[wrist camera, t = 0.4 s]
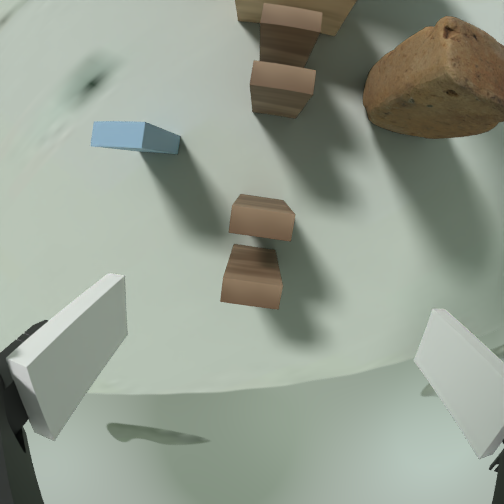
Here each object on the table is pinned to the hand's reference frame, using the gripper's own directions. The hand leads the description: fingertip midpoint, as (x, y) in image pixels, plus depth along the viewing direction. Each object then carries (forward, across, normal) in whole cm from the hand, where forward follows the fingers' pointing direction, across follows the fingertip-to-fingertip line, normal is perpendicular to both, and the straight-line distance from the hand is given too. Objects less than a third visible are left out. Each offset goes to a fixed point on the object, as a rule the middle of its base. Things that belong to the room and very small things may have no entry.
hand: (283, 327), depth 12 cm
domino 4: (+26, -1, +2) cm, 26 cm away
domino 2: (+26, 0, +20) cm, 32 cm away
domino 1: (+26, -14, +8) cm, 30 cm away
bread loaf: (+26, +14, +17) cm, 34 cm away
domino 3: (+26, -1, +14) cm, 29 cm away
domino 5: (+26, -1, -4) cm, 26 cm away
